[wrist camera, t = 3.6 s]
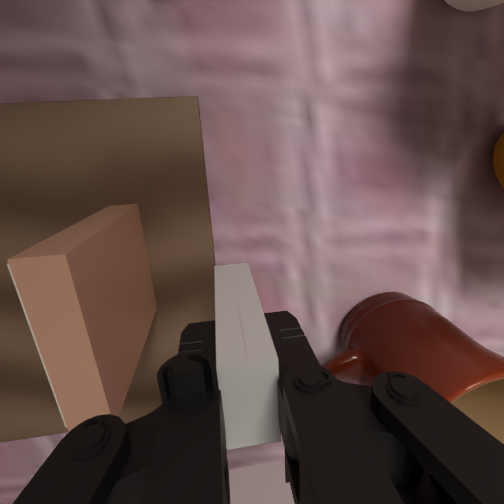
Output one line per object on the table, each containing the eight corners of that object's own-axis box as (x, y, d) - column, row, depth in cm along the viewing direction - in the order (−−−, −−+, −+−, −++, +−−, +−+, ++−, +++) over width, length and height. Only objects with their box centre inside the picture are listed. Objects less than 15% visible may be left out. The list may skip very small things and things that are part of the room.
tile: (105, 206, 17) (-1, 260, 8) (137, 203, 17) (65, 254, 9) (129, 311, 19) (64, 436, 11) (157, 308, 19) (114, 428, 11)
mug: (438, 274, 23) (601, 363, 13) (418, 365, 26) (540, 492, 16) (289, 283, 22) (351, 390, 12) (285, 378, 24) (333, 527, 15)
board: (-155, 114, 15) (-185, 110, 14) (198, 100, 17) (197, 96, 16) (-7, 430, 22) (-18, 445, 21) (229, 396, 24) (229, 408, 23)
